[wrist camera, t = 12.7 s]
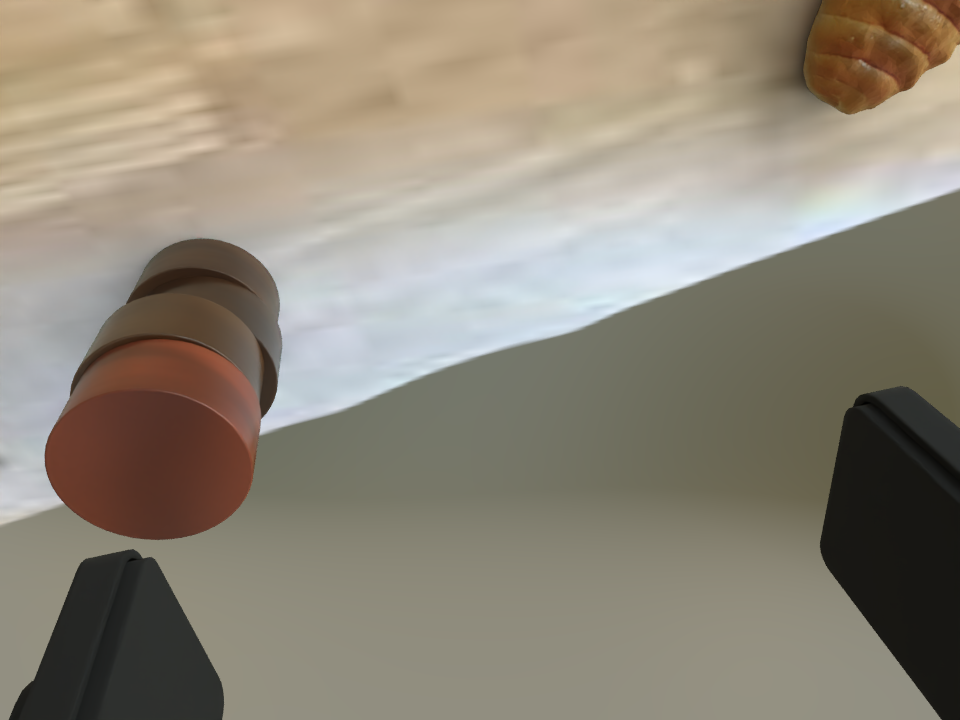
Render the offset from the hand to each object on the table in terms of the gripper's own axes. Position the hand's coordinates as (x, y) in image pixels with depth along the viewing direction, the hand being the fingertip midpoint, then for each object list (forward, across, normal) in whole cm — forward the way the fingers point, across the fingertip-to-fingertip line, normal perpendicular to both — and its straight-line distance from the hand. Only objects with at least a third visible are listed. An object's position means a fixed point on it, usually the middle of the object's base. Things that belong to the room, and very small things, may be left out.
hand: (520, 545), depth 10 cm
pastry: (+24, -22, -2) cm, 32 cm away
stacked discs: (+24, +10, +6) cm, 26 cm away
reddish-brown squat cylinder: (+15, +10, +6) cm, 19 cm away
